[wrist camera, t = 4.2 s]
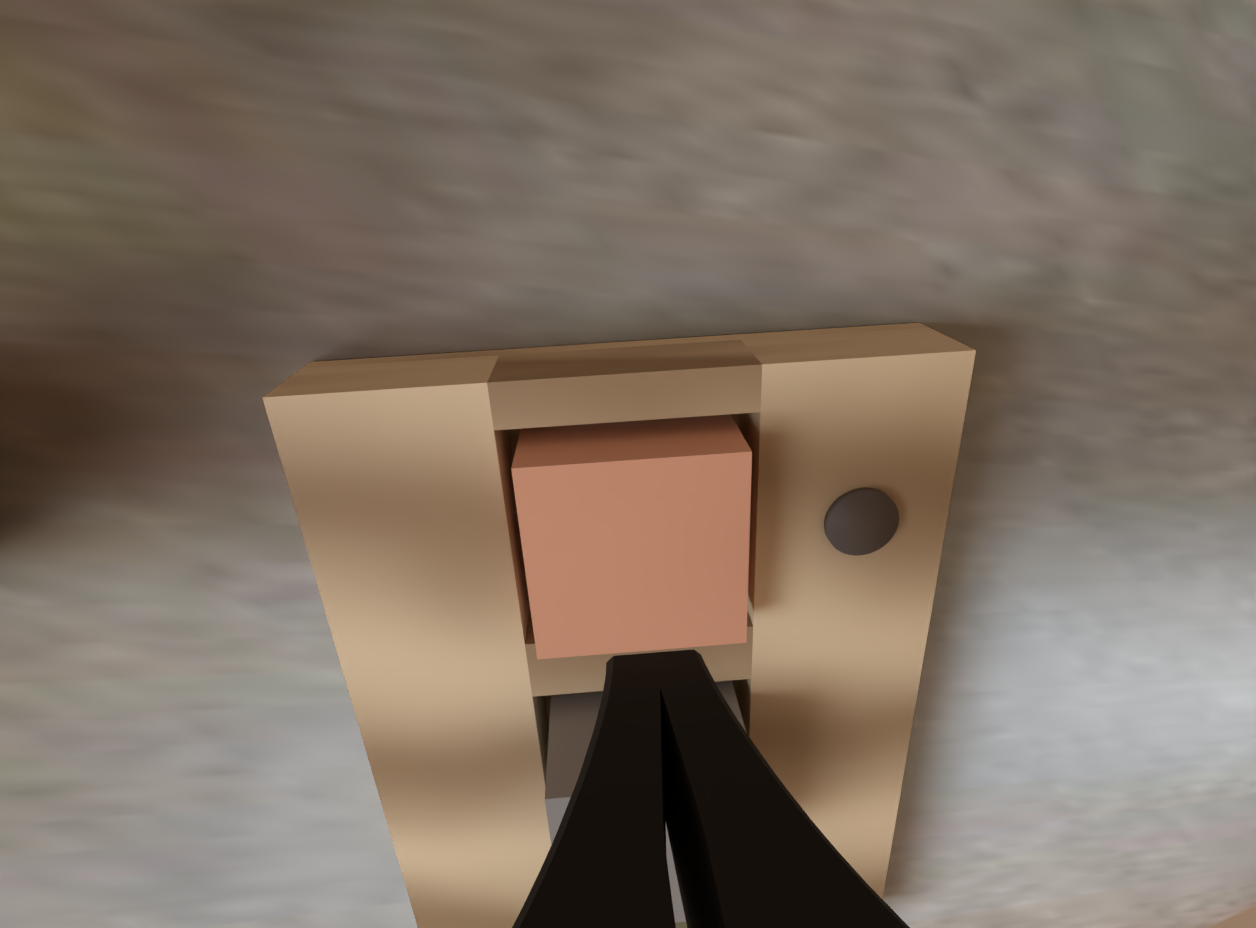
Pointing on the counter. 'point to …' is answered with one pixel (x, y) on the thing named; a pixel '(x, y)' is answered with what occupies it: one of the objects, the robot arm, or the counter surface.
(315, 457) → the tan wooden slotted tray
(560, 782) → the key slate
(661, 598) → the key terracotta
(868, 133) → the counter surface
